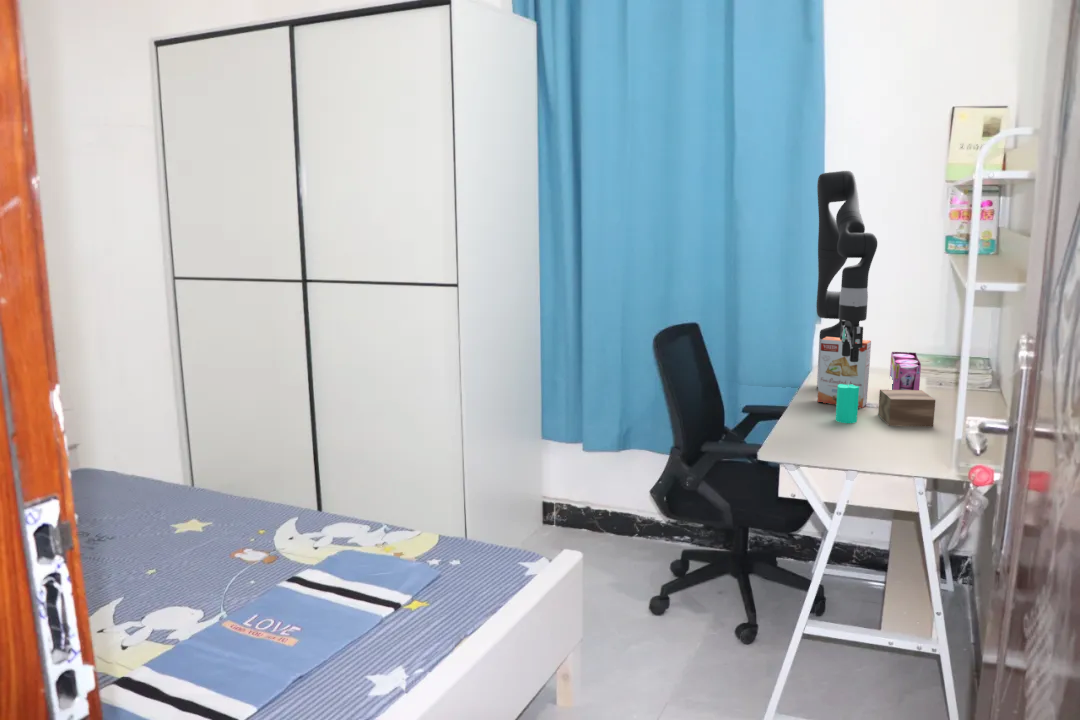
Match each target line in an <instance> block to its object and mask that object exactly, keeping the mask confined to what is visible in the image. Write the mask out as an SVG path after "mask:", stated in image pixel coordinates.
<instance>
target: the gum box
mask: <svg viewBox="0 0 1080 720" xmlns="http://www.w3.org/2000/svg"><path fill="white" fill-rule="evenodd" d="M889 366H890V367H889V368H890V369H889V377H890V376H891V377H892V380H893V384H892V390H920V382H921V370H922V362H921V361H920V359H919V358H918V355H917V352H910V351H905V352H904V351H891V353H890V365H889Z"/></svg>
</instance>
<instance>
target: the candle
mask: <svg viewBox="0 0 1080 720" xmlns="http://www.w3.org/2000/svg"><path fill="white" fill-rule="evenodd" d="M858 398H859V386H855V385H853V384H850V385H849V381H848V385H846V384H839V385H838V387H837V403H836V405H835V406H836V407H835V421H836V422H838V423H841V424H856V423H857V422H858V411H859V410H858V409H859V408H858Z"/></svg>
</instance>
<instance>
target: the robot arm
mask: <svg viewBox="0 0 1080 720" xmlns="http://www.w3.org/2000/svg"><path fill="white" fill-rule="evenodd" d="M816 188H817V190H816V191H817V207H818V210H817V211H818V235H817V237H818V242H817V263H818V264H817V267H818V276H817V277H818V278H817V279H818V280H817V291H816V294H817V295H816V314H817V316H818V318H821V319H828V320H839V321H838V322H837V323H835V325H832V326H829V327H824V328H822V329H820V330H819V334H818V335H819V339H818V354H817V355H818V356H817V358H818V360H817V375H816V379H817V380H816V387H817V386H819V371H820V354H821V340H822V339H823V338H825V337H836V338H840V340H841V342H842V343H843V344H842V356H850V361H851V362H858V358H859V349H860V348H862V346H863V345H862V343H863V340H864V338H863V337H864V336H863V335H864V326H860V322H863V321H866V320H867V316H868V315H867V314H868V301H869V295H868V294H869V292H868V290H869V289H868V286H869V273H870V269H871V265H872V263H873V259H874V257H875V254H876V253H877V248H878V238H877V237H876V235H875V234H873V233H871V232H865V231H866V228H865V223H864V220H863V217H862V214H861V210H860V200H859V193H858V185H857V179H856V177H855V175H854V173H853V171H850V170H840V171H829V172H823V173H820V174H819V176H818V178H817V187H816ZM840 202H844V203H843V204H841V206H840V208H839V209H838V211H837V213H836V217H834V215H833V213H832V211H831V208H830V203H840ZM848 259H860V260H859V262H858V263H857V264H854V265H849V266H845V267H844V268H843V266H844V265H845V263H846V262H847V260H848ZM842 268H843V269H842ZM841 269H842V270H841ZM840 270H841V271H842V274H841V283H840V284H841V285H840V287H841V288H840V291H832V290H831V291H830V290H828V288H829V286H830V284H831V282H832V281H833V280H834V278H835V276H836V275H837V274H838V272H840ZM855 342H857V344H855ZM849 343H850V344H849ZM850 348H851V349H850Z"/></svg>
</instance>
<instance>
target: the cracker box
mask: <svg viewBox="0 0 1080 720" xmlns="http://www.w3.org/2000/svg"><path fill="white" fill-rule="evenodd" d="M842 344H843V343H842V342H841V340H840V338H836V337H825V338H823V339H822V340H821V354H820V371H819V386H818V388H817V390H818V391H817V403H818V402H823V403H822V404H826V403H830V404H829V405H834V404H836V403H837V387H838V385H839V384H846V385H848V381H849V385H850V384H853V385H855V386H859V398H858V409H864V408H865V406H867V404H868V403H867V402H868V390H869V378H870V377H869V375H870V363H871V351H872V350H871V347H872V340H868V339H867V340H866V339H863V343H862V345H863V346H862V348H860V349H859V358H858V362H851V361H850V356H842ZM849 344H850V343H849ZM855 344H857V342H855ZM850 349H851V348H850ZM866 403H867V404H866Z"/></svg>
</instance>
